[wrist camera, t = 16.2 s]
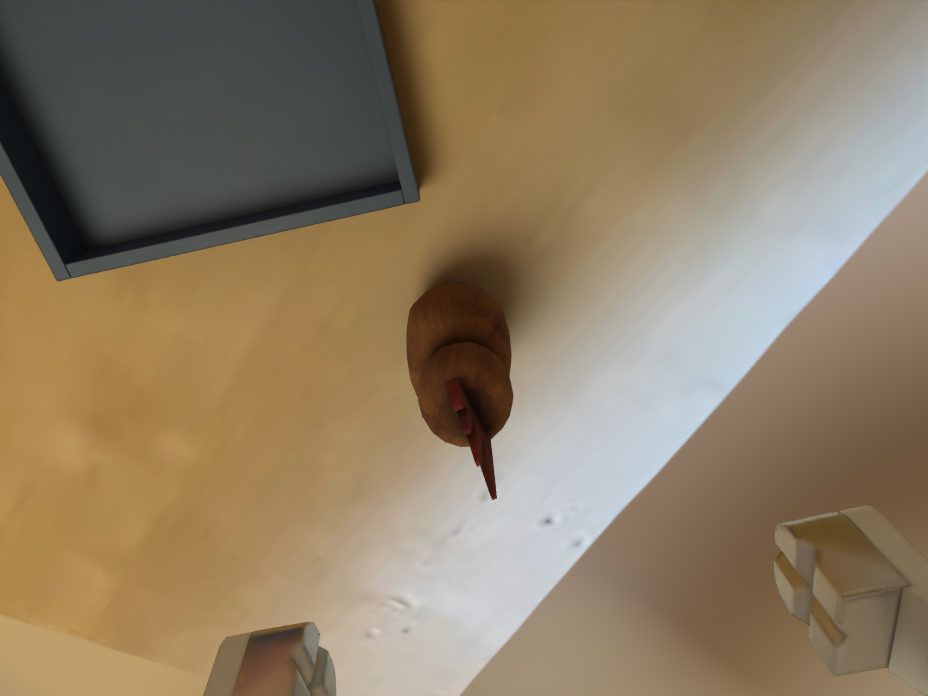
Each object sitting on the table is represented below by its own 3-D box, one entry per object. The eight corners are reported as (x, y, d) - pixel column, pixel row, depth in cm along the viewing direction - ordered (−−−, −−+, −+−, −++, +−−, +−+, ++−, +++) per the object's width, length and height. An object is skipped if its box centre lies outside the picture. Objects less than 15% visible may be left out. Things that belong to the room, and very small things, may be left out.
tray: (340, -152, 27) (332, -175, 25) (419, 189, 34) (420, 201, 32) (-78, -56, 28) (-130, -68, 25) (84, 264, 35) (56, 281, 32)
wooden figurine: (499, 364, 39) (545, 524, 26) (410, 370, 39) (410, 535, 26) (499, 265, 37) (550, 387, 23) (403, 270, 36) (398, 397, 23)
